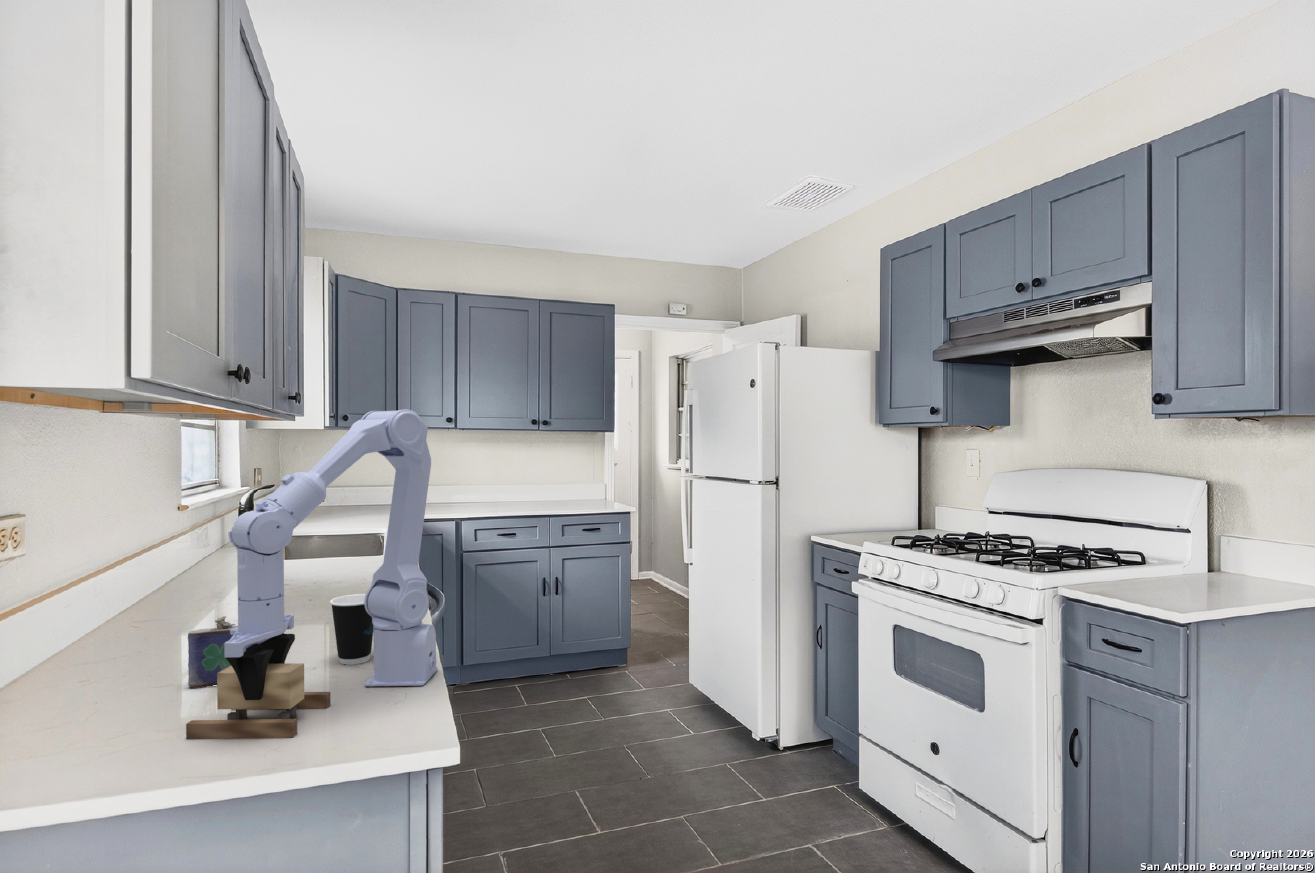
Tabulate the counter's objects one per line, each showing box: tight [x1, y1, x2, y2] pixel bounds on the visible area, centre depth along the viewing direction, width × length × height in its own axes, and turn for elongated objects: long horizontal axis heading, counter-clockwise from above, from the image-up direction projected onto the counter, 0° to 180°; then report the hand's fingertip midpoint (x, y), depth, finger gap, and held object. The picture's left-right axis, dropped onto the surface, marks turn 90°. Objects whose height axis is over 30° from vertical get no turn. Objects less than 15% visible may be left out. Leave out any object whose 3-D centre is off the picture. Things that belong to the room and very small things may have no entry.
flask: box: [187, 615, 238, 689], centre depth 117 cm, size 9×3×11 cm, turn 110°
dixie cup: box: [329, 593, 374, 666], centre depth 128 cm, size 8×8×11 cm
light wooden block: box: [216, 662, 305, 710], centre depth 101 cm, size 10×4×5 cm, turn 90°
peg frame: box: [185, 691, 331, 740], centre depth 101 cm, size 14×11×2 cm
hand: (262, 693), depth 101 cm, fingers closed on light wooden block, 4 cm apart
